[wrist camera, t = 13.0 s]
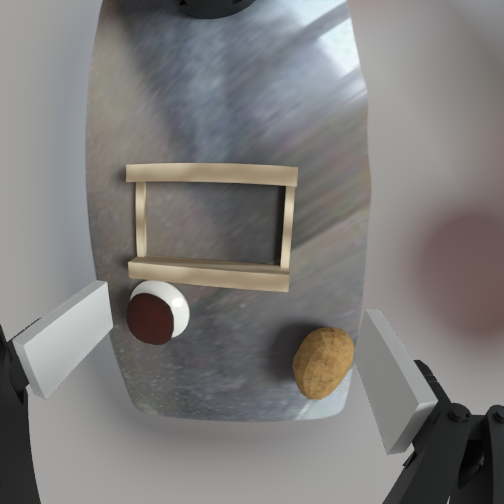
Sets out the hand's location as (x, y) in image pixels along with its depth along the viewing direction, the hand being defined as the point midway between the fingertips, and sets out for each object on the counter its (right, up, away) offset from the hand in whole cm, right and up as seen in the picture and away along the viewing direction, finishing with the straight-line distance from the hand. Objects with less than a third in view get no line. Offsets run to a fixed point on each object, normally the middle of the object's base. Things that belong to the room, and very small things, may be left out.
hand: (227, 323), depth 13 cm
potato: (+13, -14, +33) cm, 38 cm away
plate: (-15, -6, +34) cm, 37 cm away
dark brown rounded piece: (-15, -6, +33) cm, 37 cm away
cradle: (-5, +8, +29) cm, 31 cm away
